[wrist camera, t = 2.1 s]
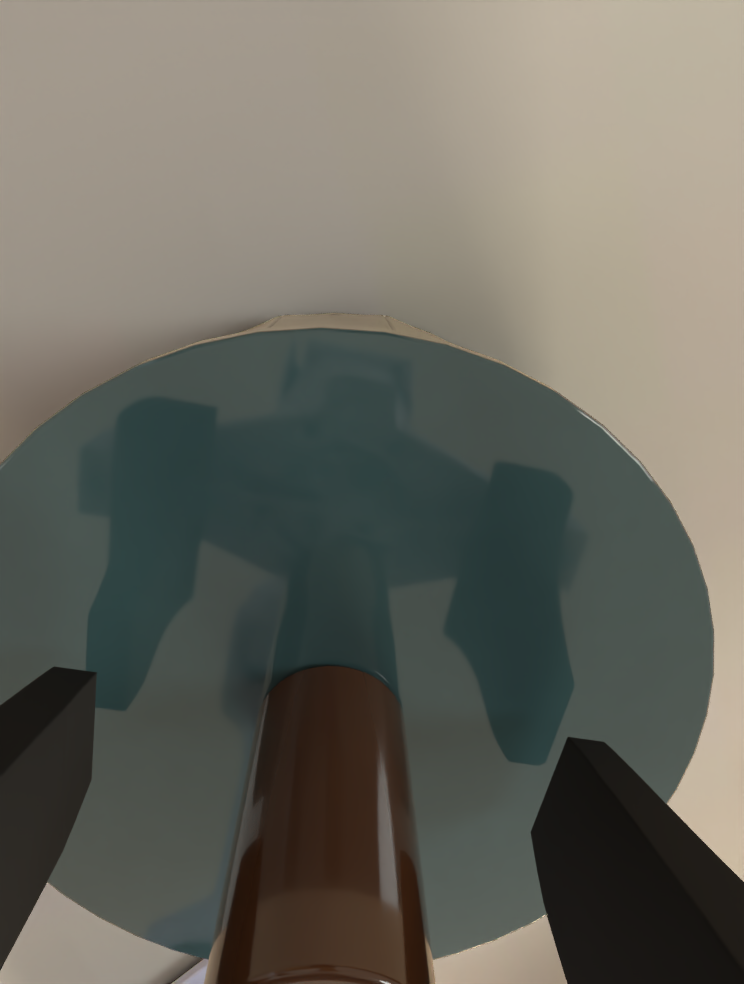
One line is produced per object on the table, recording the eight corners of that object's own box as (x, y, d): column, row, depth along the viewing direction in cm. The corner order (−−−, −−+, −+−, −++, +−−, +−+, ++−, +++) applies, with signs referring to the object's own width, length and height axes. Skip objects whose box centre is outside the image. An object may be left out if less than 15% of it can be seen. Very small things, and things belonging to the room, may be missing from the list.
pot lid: (340, 996, 14) (334, 1422, 9) (-176, 690, 11) (-664, 1093, 6) (814, 671, 11) (1207, 1021, 6) (319, 109, 8) (260, -171, 3)
